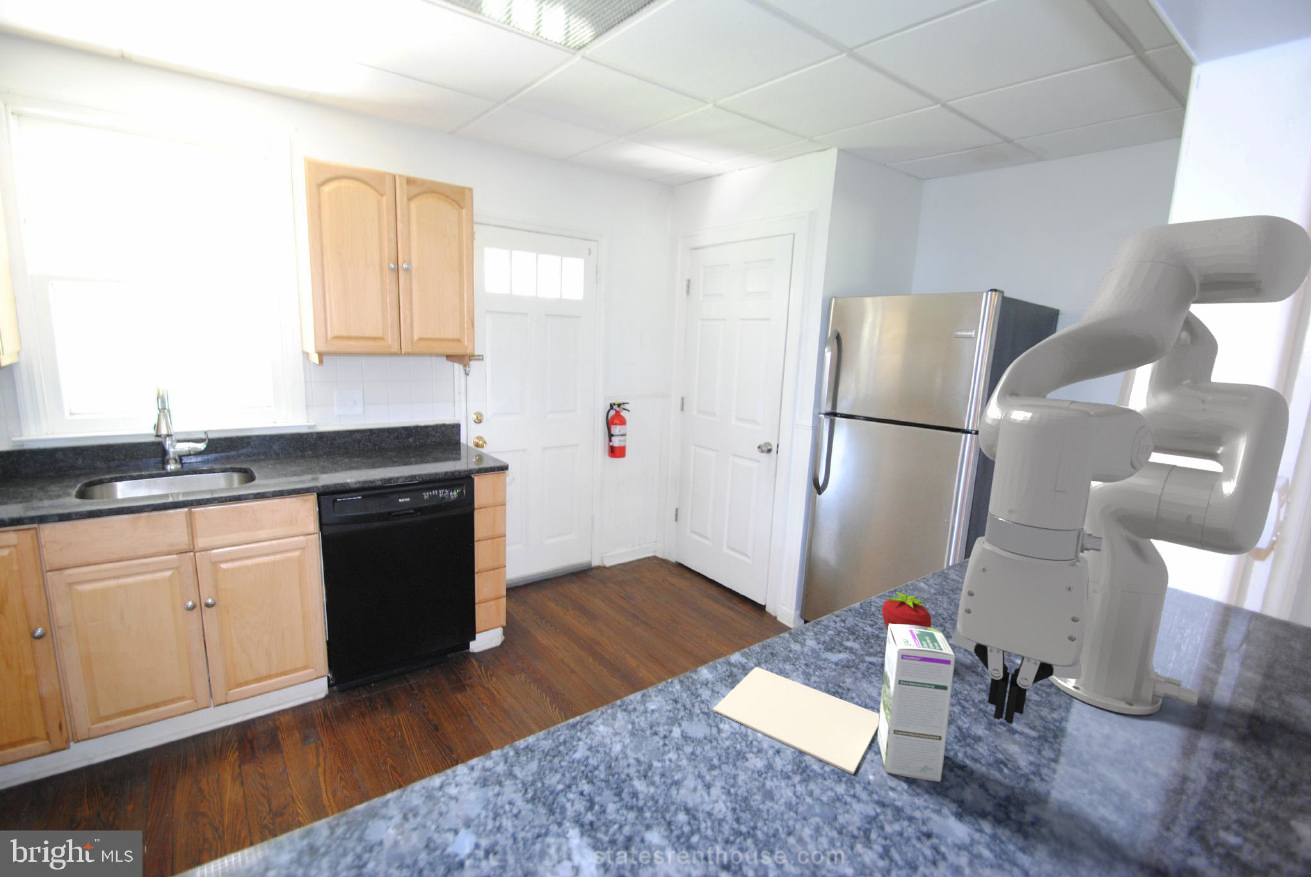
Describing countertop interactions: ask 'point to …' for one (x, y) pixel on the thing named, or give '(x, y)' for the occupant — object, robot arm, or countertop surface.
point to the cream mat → (802, 718)
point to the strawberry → (905, 611)
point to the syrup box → (915, 701)
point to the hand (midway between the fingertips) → (1004, 713)
